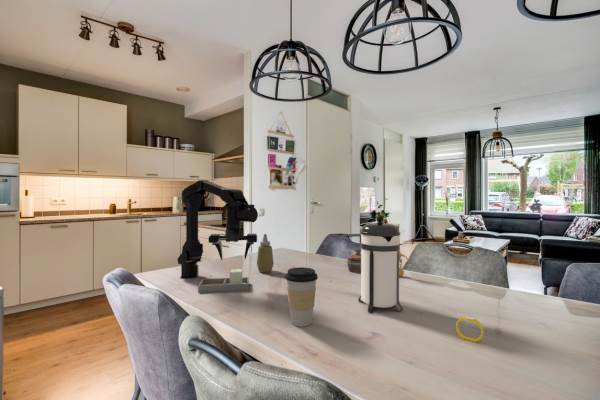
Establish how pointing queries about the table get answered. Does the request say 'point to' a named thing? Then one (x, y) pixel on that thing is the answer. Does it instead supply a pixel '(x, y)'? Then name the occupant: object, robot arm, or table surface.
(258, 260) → the squeeze bottle
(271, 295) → the table surface
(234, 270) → the sage block
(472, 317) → the yellow ring
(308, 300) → the coffee cup
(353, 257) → the cupcake
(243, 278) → the board
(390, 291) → the coffee press
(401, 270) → the figurine
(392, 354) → the table surface
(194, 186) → the robot arm
